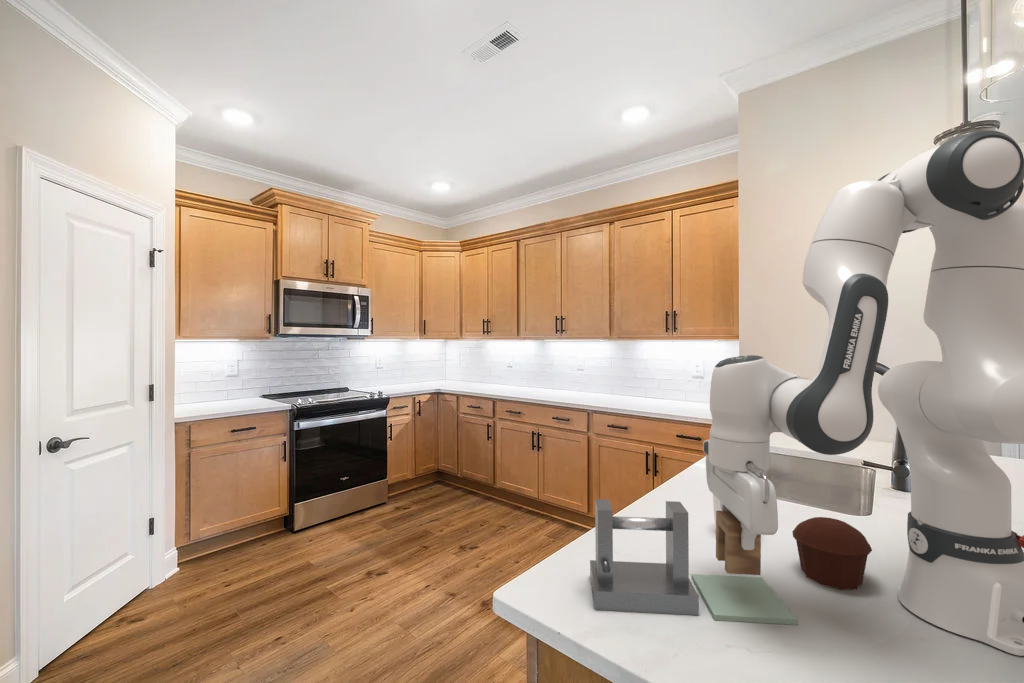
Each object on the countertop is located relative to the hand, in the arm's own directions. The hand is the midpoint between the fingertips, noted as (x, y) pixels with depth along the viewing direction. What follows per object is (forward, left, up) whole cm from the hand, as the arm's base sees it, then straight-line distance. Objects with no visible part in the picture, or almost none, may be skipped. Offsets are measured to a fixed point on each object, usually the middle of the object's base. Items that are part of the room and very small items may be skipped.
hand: (737, 538), depth 74 cm
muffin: (-19, -9, -10) cm, 24 cm away
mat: (0, 0, -10) cm, 10 cm away
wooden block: (0, 0, -5) cm, 5 cm away
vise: (+16, 0, -10) cm, 19 cm away
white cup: (-8, -25, -10) cm, 28 cm away
